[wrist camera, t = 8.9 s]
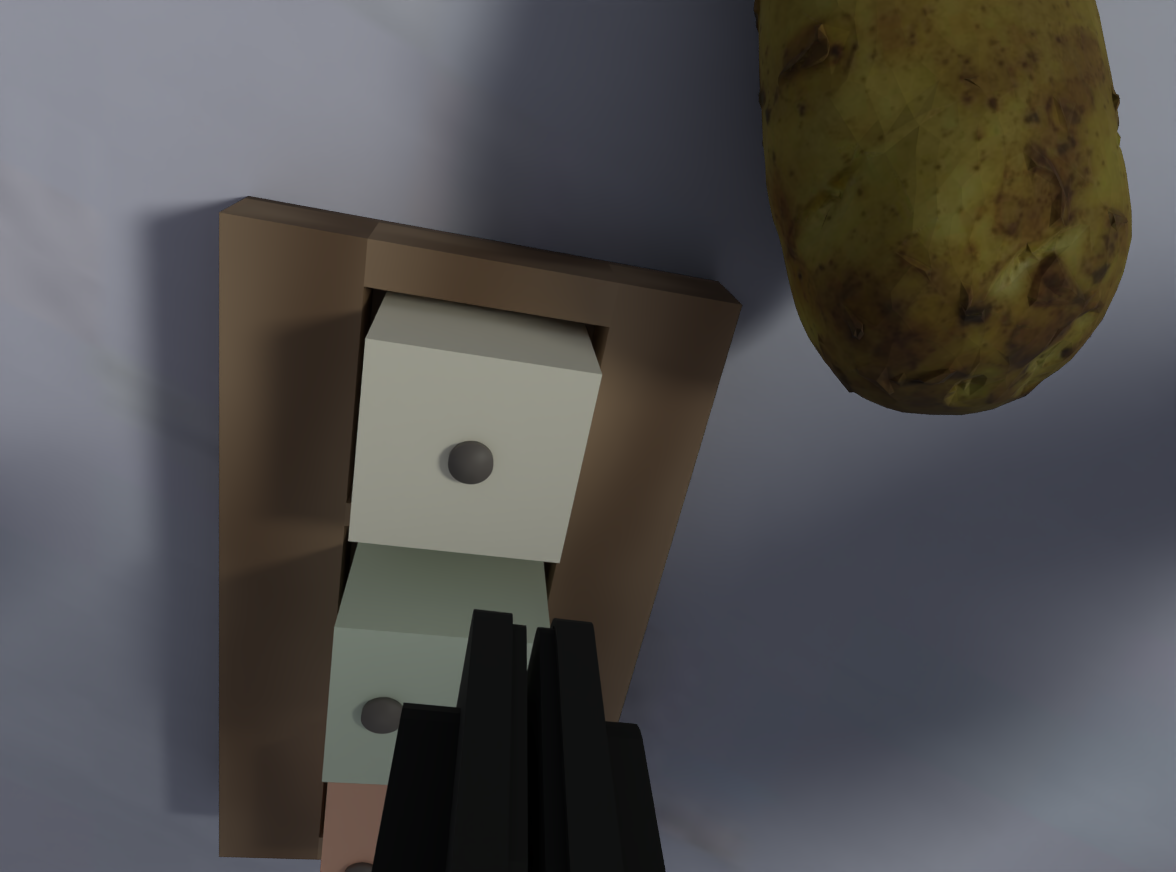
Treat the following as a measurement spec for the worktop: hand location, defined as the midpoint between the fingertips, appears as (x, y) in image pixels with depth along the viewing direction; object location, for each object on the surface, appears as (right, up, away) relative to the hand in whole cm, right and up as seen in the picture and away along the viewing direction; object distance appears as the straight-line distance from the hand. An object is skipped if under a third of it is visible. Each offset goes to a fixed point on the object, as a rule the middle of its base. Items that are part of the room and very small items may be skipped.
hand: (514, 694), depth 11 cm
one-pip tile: (-2, +5, +10) cm, 11 cm away
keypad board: (-3, -1, +13) cm, 13 cm away
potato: (+8, +13, +8) cm, 17 cm away
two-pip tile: (-3, -1, +12) cm, 12 cm away
